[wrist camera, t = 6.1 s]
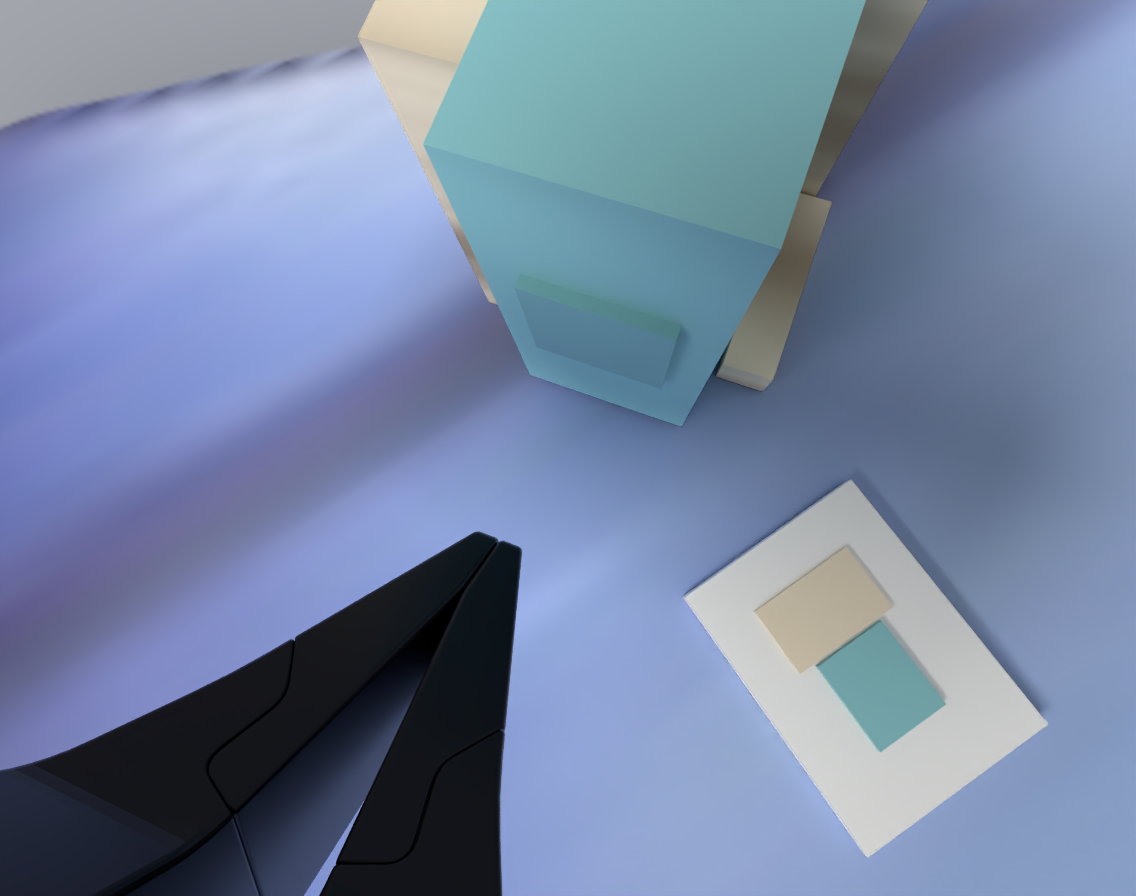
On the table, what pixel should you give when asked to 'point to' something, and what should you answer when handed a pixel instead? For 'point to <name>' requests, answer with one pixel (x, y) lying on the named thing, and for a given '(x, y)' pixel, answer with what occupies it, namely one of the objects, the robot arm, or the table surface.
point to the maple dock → (893, 4)
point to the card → (863, 666)
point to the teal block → (634, 175)
